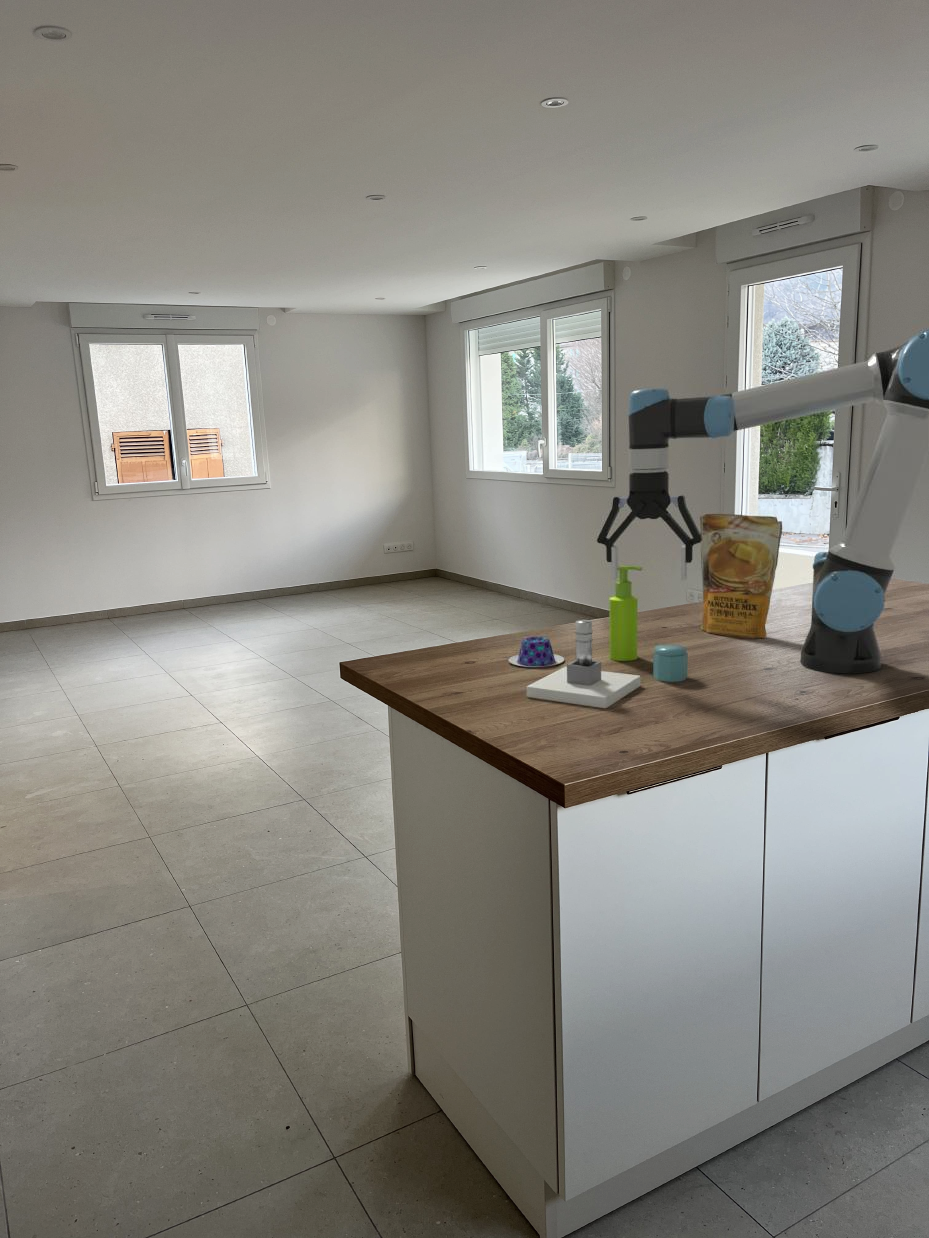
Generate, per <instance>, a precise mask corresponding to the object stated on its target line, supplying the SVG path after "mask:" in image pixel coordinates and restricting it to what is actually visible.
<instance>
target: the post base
mask: <svg viewBox="0 0 929 1238" xmlns="http://www.w3.org/2000/svg"><path fill="white" fill-rule="evenodd" d="M639 687H641V675H637V674H630V673H628V674H627V673H621V672H611V671H605V670H602V661H598V660H592V665H591V666H589V667H588V666H580V665H576V659H575V660H573V661H571V662H569V663H567V664H566V666H563V667H561V668H560V669H558V670H556V671H554V672H552V673H550V674H549V675H546V676H544V677H542V678H541V679H538V680H536V681H535V682H534V681H533V683H531V684H529V685H526V697H527V698H531V699H532V698H533V699H539V700H546V701H553V702H559V703H565V704H566V703H567V704H573V705H579V706H587V707H592V708H599V709H600V708H601V709H607V708H609V707H610V706H612V705H614V704H615V703H617V702H618V701H620V700H621V699H623V698H624V697H625V696H627V695H629V694H630V693H632V692H633V691H635V690H636V689H638V688H639Z"/></svg>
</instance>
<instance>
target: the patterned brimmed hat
mask: <svg viewBox="0 0 929 1238" xmlns="http://www.w3.org/2000/svg"><path fill="white" fill-rule="evenodd" d="M508 662H509V663H510V664H512V665H515V666H519V667H525V668H535V667H536V668H543V667H545V668H547V667H552V666H556V665H559V664H561V663H563V662H565V658H564V657H563V656H562V655H558V654H555V653H554V651H553V647H552V643H551V641H550V639H549V638H547V637H544V636H529V637H526V638H523V640H522V641H521V643H520V648H519V653H518V654H516V655H513V656H511V657H509V658H508Z"/></svg>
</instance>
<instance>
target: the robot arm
mask: <svg viewBox="0 0 929 1238" xmlns="http://www.w3.org/2000/svg"><path fill="white" fill-rule="evenodd" d="M871 402H875V403H877V404H879V405H880V406H882V405H883V406H884V408H885V410H886V412H887V415H886V417H885V421H884V423H883V425H882V428H881V431H880V434H879V437H878V439H877V442H876V445H875V447H874V450H873V453H872V456H871V459H870V462H869V464H868V467H867V468H866V469H867V470H866V473H865V475H864V478H863V482H862V483H861V486H860V489H859V492H858V494H857V498H856V500H855V503H854V506H853V508H852V511H851V513H850V517H849V519H848V523H847V525H846V528H845V530H844V533H843V535H842V539H841V541H840V542H839V543H837V544H836V545H834V546H832V547H830V548H829V549H828V551H819V552H817V553H816V554H815V555H814V557H813V558H814V560H813V563H812V569H813V574H812V575H813V576H812V577H813V578H812V597H811V599H812V600H811V621H810V622H811V623H810V624H811V625H810V627H809V630H808V633H807V635H806V637H805V641H804V643H803V646H802V648H801V650H800V664H801V665H803V666H804V667H806V668H809V669H812V670H815V671H820V672H827V673H834V674H835V673H837V674H864V673H872V672H876V671H877V670H880V669H881V668H882V653H881V650H880V647H879V642H878V639H877V635H876V632H875V628H874V627H875V626H874V625H875V623H876V621H877V620H878V619H879V618H880V617H881V614H882V613H883V611H884V608H885V602H886V599H885V597H886V596H885V595H886V593H887V590H888V588H889V584H890V582H891V579H892V576H893V573H894V571H895V568H896V567H895V565H894V563H893V561H892V560H891V553H892V551H893V549H894V545H895V542H896V539H898V535H899V533H900V529H901V526H902V524H903V523H904V519H905V516H906V514H907V511H908V509H909V506H910V503H911V501H912V498H913V496H914V493H915V490H916V488H917V485H918V482H919V481H920V478H921V476H922V475H921V474H922V472H923V469H924V466H925V465H926V461H927V458H928V456H929V329H925V330H922V331H921V332H919V333H917V334H915V335H913V336H912V337H911V338H910V339H909V340H908V341H907V342H905V343H902V344H901V345H899V346H898V345H897V346H896V347H893V348H892V349H889V350H884V351H880V352H877V353H876V352H875V353H873V354H872V356H870V358H869V359H868V360H866V361H861V362H856V363H853V364H850V365H845V366H841V367H836V368H832V369H828V370H823V371H819V372H815V373H811V374H807V375H801V376H799V377H798V376H797V377H793V378H789V379H785V380H781V381H776V382H773V383H772V382H771V383H769V384H764V385H760V386H755V387H752V388H747V389H744V390H743V389H742V390H739V391H735V392H732V393H726V394H721V395H712V396H698V397H696V396H695V397H685V398H671V397H670V392H669V390H668V389H667V388H650V389H649V388H645V389H636V390H633V391H632V392H631V393H630V395H629V407H628V413H627V415H628V441H629V442H628V445H629V446H628V447H629V448H628V469H629V470H631V472H630V473H629V474H628V475H629V477H628V479H629V480H628V481H629V482H628V487H629V488H628V493H629V494H628V497H623V496H622V497H621V496H620V495H617V496H614V497H613V498H612V506H611V510H610V512H609V514H608V515H607V518H606V520H605V521H604V524H603V526H602V528H601V530H600V532H599V535H598V536H597V539H596V542H597V543H598V544H602V545H604V546H605V548H606V556H605V557H606V562H607V563H611V580H617V579H619V570H618V566H619V557H618V556H619V547H618V544H617V545H615V543H616V542H617V540H618V539H619V538H620V537H621V536H622V535H623V533H624V532H625V531H626V530H627V529H628V527H629V526H631V524H632V523H633V522H634V520H635V519H636V518H638V519H640V520H647V519H650V520H657V519H662V521H664V522H665V524H667V525H668V527H669V528H670V529H671V530H672V531H673V532H674V534H675V535H676V536H677V537H678V538H679V539H680V541H681V542H682V543H683V545H682V546H681V547H680V548H681V549H680V551H681V552H680V557H681V558H680V559H681V560H680V561H681V562H680V565H681V566H680V581H686V580H687V578H688V577H687V575H688V574H687V573H688V572H687V571H688V568H687V567H688V566H687V565H688V563H689V564H690V563H692V561H693V548H694V547H693V546H694V545H697V544H701V541H702V536H701V532H700V530H699V528H698V527H697V524H696V523H695V521H694V519H693V517H692V514H691V513H690V511H689V508H688V507H687V503H686V496H685V495H684V494H680V495H677V496H670V493H669V491H670V490H669V487H670V486H669V484H670V483H669V479H670V478H669V472H668V471H667V470H666V469H668V468H670V467H669V465H670V464H669V460H670V459H669V452H670V451H669V447H670V446H669V442H670V441H669V440H670V439H673V440H677V439H704V438H706V439H708V438H712V439H716V438H718V439H719V438H722V437H729V436H731V435H732V434H733V432H737V431H740V430H745V429H750V428H755V427H759V426H760V427H761V426H764V425H768V424H774V423H778V422H783V421H787V420H793V419H797V418H800V417H805V416H810V415H815V414H816V415H817V414H820V413H821V414H822V413H825V412H829V411H835V410H838V409H842V408H848V407H852V406H857V405H861V404H867V403H871ZM671 503H672V504H673V505H674V507H675V508H678V510H679V513H680V515H681V517H682V519H683V521H684V523H685V524H686V527H687V529H688V530H689V533H690V534H691V536H692V538H691V537H690V536H689V535H688V533H687V532H686V531H685V530H684V529H683V528H682V526H680V524H679V523H678V522H677V521H676V520H675V518H674V517H673V516H672V515H671V513H670V512H669V511H668V510H667V509H668V507H669V506H670V505H671ZM625 504H627V506H628V507H629V509H630V510H631V511H630V512H629V514H628V515H627V516H626V518H624V520H623V521H622V522H621V524H620V525H619V526H618V527H617V528H616V530H615V531H614V532H613V533H612V535H611V536H610V537H609V538H608V534H609V533H610V531H611V528H612V526H613V524H614V522H615V520H616V519H617V517H618V514H619V512H620V509H622V508H624V506H625Z"/></svg>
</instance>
